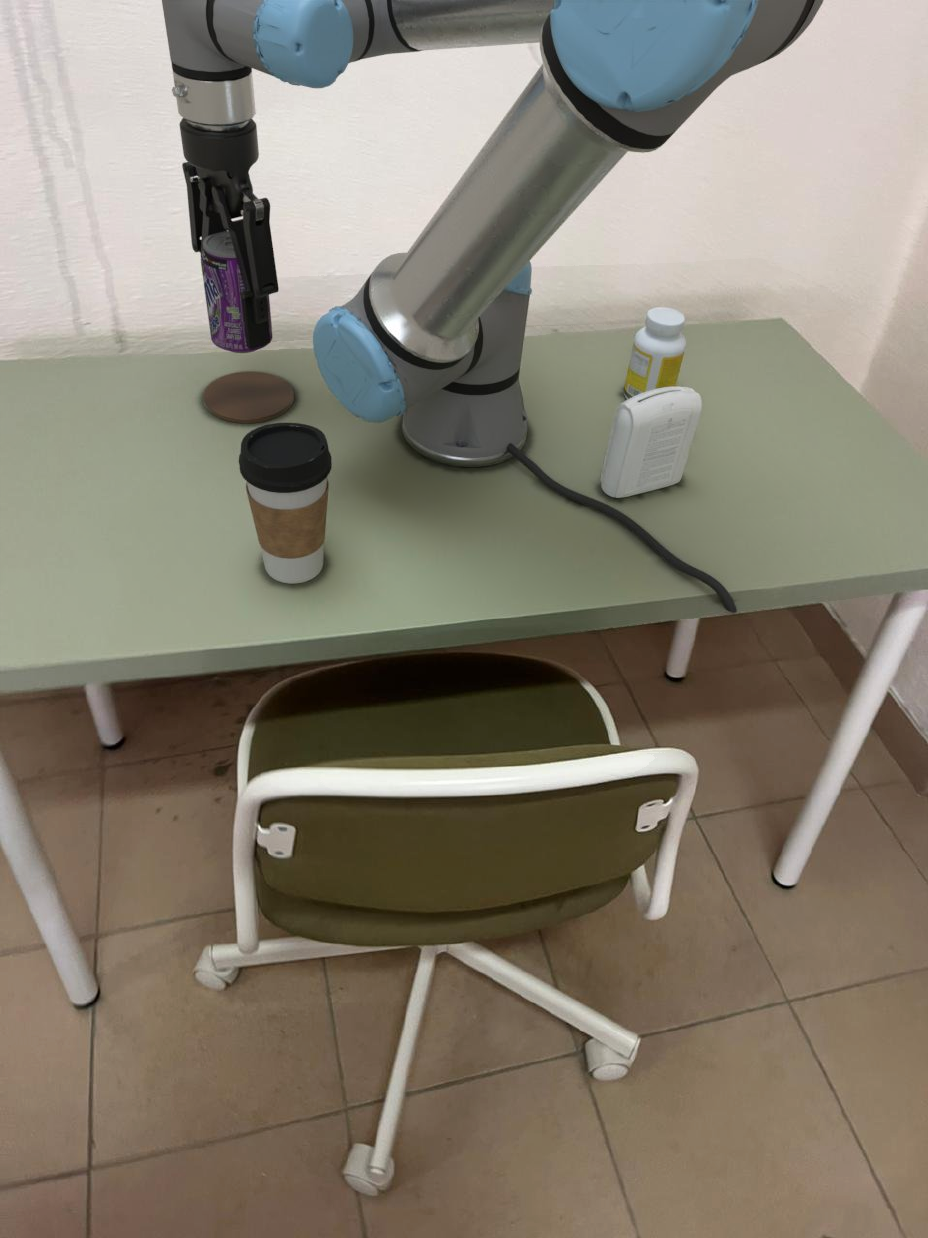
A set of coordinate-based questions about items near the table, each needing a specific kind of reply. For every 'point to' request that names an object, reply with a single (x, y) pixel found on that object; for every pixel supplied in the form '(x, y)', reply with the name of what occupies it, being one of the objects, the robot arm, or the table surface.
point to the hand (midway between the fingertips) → (241, 330)
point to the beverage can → (225, 294)
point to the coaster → (248, 397)
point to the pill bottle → (656, 352)
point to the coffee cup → (288, 496)
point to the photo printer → (650, 441)
